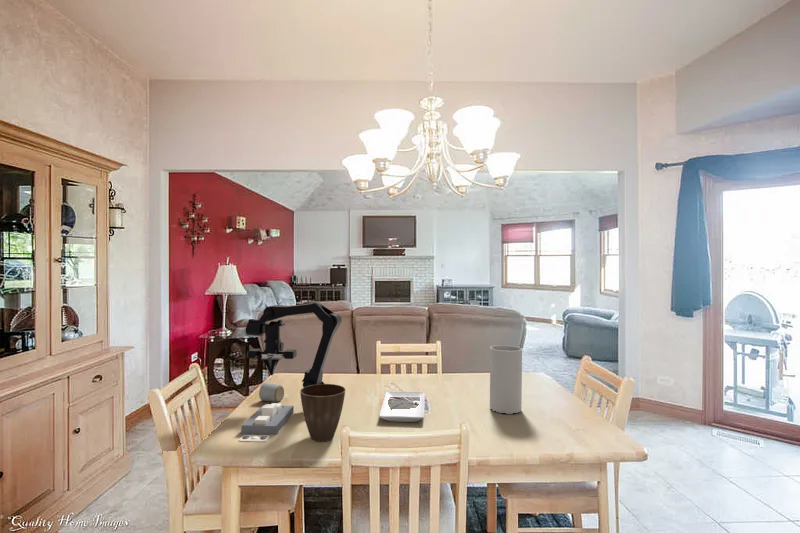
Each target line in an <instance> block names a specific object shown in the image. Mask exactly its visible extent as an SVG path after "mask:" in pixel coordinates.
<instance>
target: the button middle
mask: <svg viewBox="0 0 800 533" xmlns="http://www.w3.org/2000/svg"><path fill="white" fill-rule="evenodd" d="M263 405H264V406H263ZM263 405H262V406H263V407H262V406H261V407H262V416H270V417H272V418H274V417H275V416H276V405H277V404H272V403H271V404H269V403H267V404H265V403H264V404H263Z"/></svg>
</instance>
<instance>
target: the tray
mask: <svg viewBox="0 0 800 533" xmlns="http://www.w3.org/2000/svg"><path fill="white" fill-rule="evenodd" d="M390 397H420V403H419V405H418V406H417V407H416V408H410V409H392V410H391V409H390V407H389V405H388V400H389V398H390ZM425 401H426V400H425V391H409V390H408V391H407V390H406V391H401V390H400V391H399V390H398V391H394V390H393V391H392V390H391V391H389V390H388V391H386V392H385V395H384V398H383V402H382V406H381V407H380V411H379V414H378V416H379V418H380V419H383V420H386V421H388V422H397V423H398V422H399V423H400V422H401V423H403V422H404V423H407V422H408V423H417V421H420V420H422V419H424V417H425V406H426V405H425V404H426V403H425Z"/></svg>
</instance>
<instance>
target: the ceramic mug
mask: <svg viewBox="0 0 800 533" xmlns="http://www.w3.org/2000/svg"><path fill="white" fill-rule="evenodd" d="M258 397H259V399H260V401H264V402H271V403H279V402H281V400H282V399H283V398H284V397H285V388H284V386H283V385H282V384H278V383H273V382H268V381H264V382H263V383H262V384H261V386H260V387H259V392H258Z"/></svg>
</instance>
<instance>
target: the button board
mask: <svg viewBox="0 0 800 533" xmlns="http://www.w3.org/2000/svg"><path fill="white" fill-rule="evenodd" d="M264 405H265V404H263V405H262V406H260V407H259V408H258V409H257V410H256V411H255V412H254V413H253V414H252V415H250V416H249V418H247V419H246V420H245V421H244V422H243V423H242V424H241V425H240V435H254V434H259V435H271V436H277V434H278V433H279V432H280V431H281V430H282V428H283V427H284V426H285V425H286V424H287V422H288V421H289V420H290V419H291V417H292V416H293V415H294V413H295V412H294V409H295V407H294V405H282V409H281V410H280V411H276V416H275V417H274V418H272V417H270V422H269V423H268V424H267V425H254V422H255V419H256V418H257V417H258V416H262V407H263V406H264Z"/></svg>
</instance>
